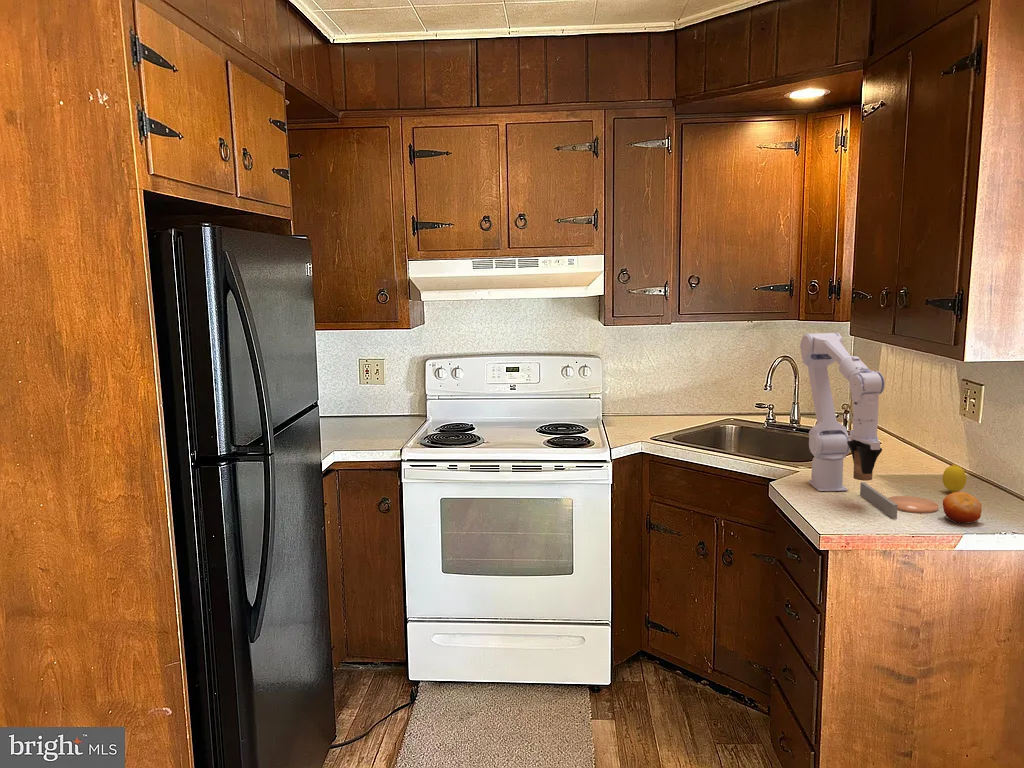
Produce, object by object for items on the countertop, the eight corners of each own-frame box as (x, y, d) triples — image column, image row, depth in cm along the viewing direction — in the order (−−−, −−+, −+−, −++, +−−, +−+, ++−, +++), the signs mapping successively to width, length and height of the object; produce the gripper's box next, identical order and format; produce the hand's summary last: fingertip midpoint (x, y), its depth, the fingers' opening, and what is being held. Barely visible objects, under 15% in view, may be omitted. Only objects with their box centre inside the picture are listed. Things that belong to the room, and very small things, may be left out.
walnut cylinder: (850, 476, 192) (851, 449, 191) (868, 475, 192) (869, 449, 191) (857, 480, 188) (858, 453, 187) (875, 480, 187) (876, 453, 186)
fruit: (961, 507, 183) (974, 485, 178) (978, 532, 177) (992, 510, 172) (929, 508, 183) (941, 486, 178) (945, 533, 177) (958, 511, 172)
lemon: (943, 489, 203) (945, 460, 202) (966, 492, 200) (968, 463, 199) (939, 493, 199) (941, 465, 198) (963, 497, 196) (965, 468, 195)
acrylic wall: (860, 494, 200) (860, 482, 200) (863, 494, 200) (864, 482, 200) (892, 518, 181) (893, 504, 180) (896, 518, 181) (897, 504, 180)
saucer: (877, 499, 196) (877, 496, 196) (924, 498, 195) (924, 495, 195) (897, 513, 184) (898, 510, 184) (947, 513, 184) (947, 510, 183)
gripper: (838, 414, 195) (837, 463, 197) (860, 424, 181) (857, 478, 183) (866, 413, 194) (864, 463, 196) (889, 424, 180) (887, 478, 182)
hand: (863, 470), depth 189 cm, fingers closed on walnut cylinder, 4 cm apart
